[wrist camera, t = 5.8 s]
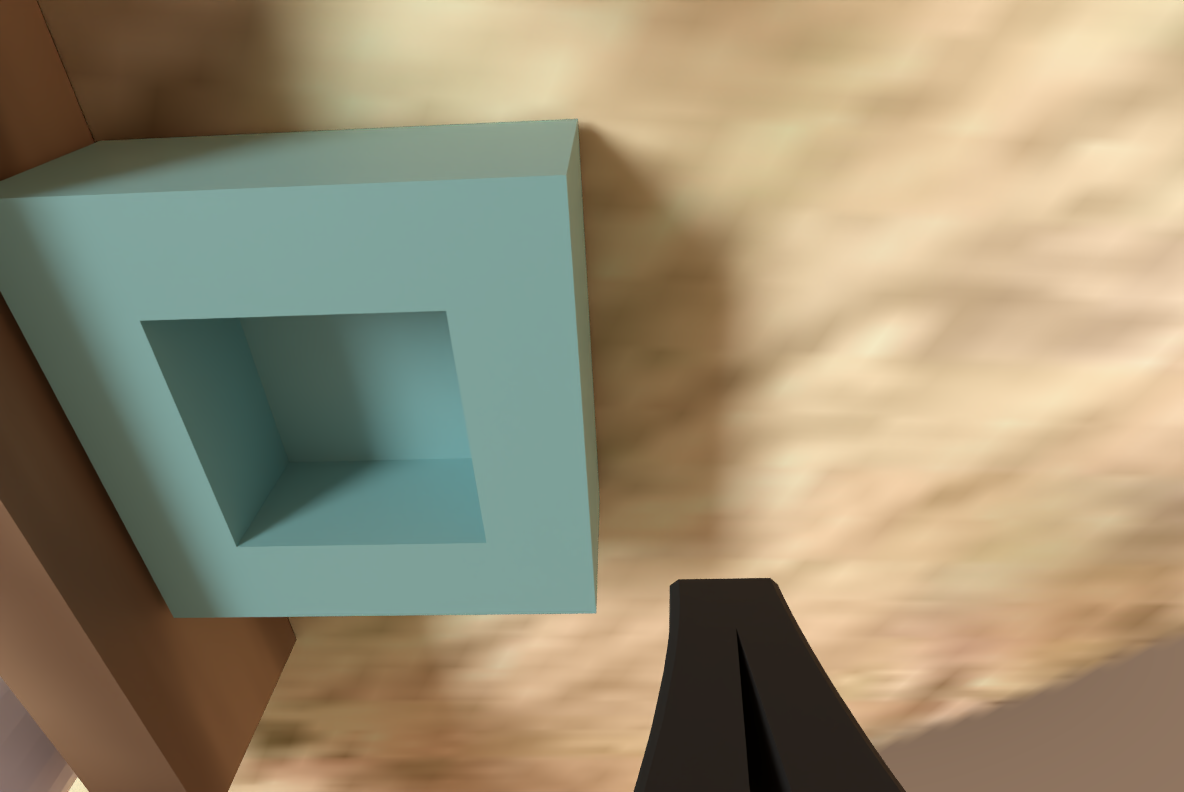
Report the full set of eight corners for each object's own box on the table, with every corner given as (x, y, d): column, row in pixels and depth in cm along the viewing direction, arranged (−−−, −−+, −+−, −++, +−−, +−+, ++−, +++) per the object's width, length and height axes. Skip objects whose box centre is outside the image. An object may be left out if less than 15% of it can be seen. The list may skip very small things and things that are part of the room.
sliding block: (246, 505, 21) (174, 617, 17) (99, 140, 15) (-49, 200, 12) (599, 498, 20) (596, 613, 17) (578, 118, 15) (566, 174, 11)
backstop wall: (222, 640, 24) (117, 828, 19) (-283, -391, 11) (-1027, -658, 6) (296, 639, 24) (210, 829, 19) (-129, -405, 11) (-759, -688, 6)
